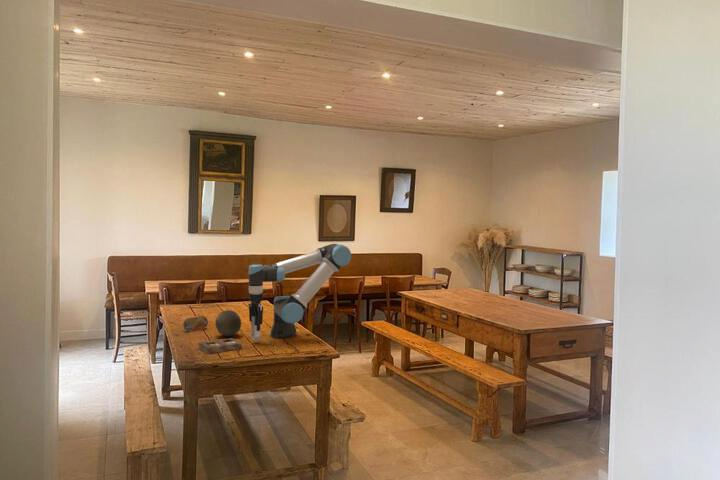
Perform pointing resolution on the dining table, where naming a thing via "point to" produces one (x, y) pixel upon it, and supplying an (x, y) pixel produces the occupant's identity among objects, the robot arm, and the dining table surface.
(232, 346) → the socket board
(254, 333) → the plug
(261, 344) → the dining table surface
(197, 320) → the tin
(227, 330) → the dark grey round ball
